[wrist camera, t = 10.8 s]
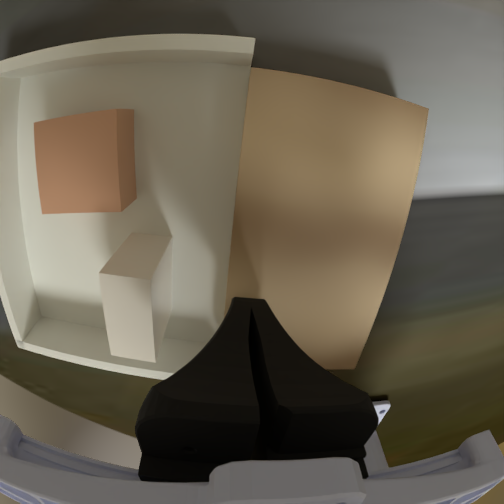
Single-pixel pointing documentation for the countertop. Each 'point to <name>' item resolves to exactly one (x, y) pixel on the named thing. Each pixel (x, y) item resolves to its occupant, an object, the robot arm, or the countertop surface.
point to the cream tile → (138, 295)
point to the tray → (147, 188)
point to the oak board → (322, 206)
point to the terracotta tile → (86, 162)
